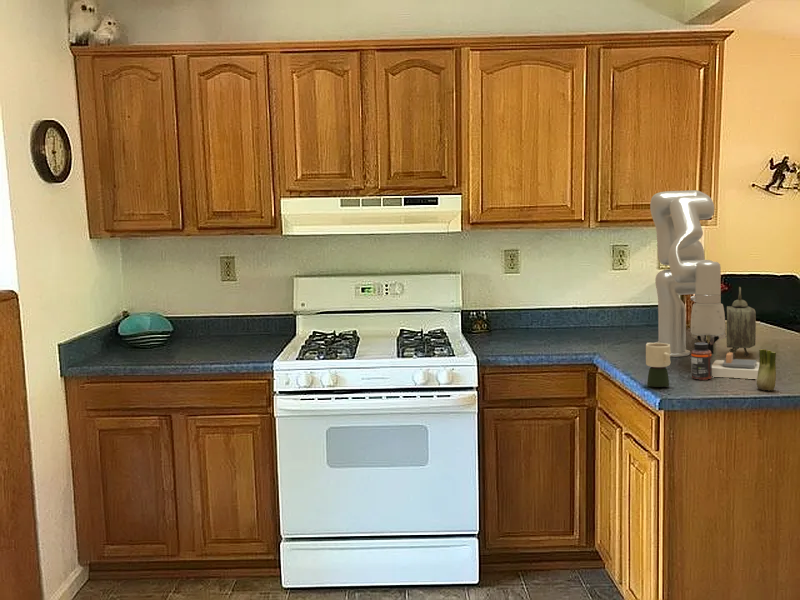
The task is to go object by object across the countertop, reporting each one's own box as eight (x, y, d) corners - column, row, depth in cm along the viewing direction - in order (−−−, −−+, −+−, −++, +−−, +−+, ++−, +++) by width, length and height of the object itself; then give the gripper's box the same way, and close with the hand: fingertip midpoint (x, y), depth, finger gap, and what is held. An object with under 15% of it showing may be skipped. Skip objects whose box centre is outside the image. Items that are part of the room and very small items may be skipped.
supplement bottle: (706, 376, 238) (706, 341, 237) (715, 380, 232) (715, 344, 231) (688, 377, 238) (688, 342, 237) (696, 381, 232) (696, 345, 231)
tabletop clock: (726, 352, 277) (726, 285, 274) (753, 352, 274) (753, 285, 271) (727, 359, 264) (727, 289, 261) (755, 360, 260) (756, 288, 258)
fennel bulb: (778, 392, 214) (778, 351, 213) (759, 392, 215) (760, 351, 213) (771, 388, 220) (772, 347, 218) (754, 388, 220) (754, 347, 219)
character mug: (679, 389, 222) (679, 346, 221) (658, 391, 220) (658, 348, 219) (658, 382, 233) (657, 341, 231) (637, 384, 231) (637, 343, 230)
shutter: (722, 366, 237) (722, 355, 237) (726, 361, 245) (726, 351, 244) (753, 367, 232) (754, 357, 232) (756, 362, 240) (756, 352, 240)
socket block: (709, 377, 237) (709, 367, 237) (715, 368, 249) (715, 360, 249) (765, 380, 229) (765, 371, 228) (769, 372, 241) (769, 362, 241)
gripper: (681, 300, 242) (682, 356, 243) (731, 301, 234) (731, 359, 236) (685, 298, 248) (685, 353, 250) (734, 298, 241) (734, 355, 242)
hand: (708, 355), depth 243 cm, fingers closed
